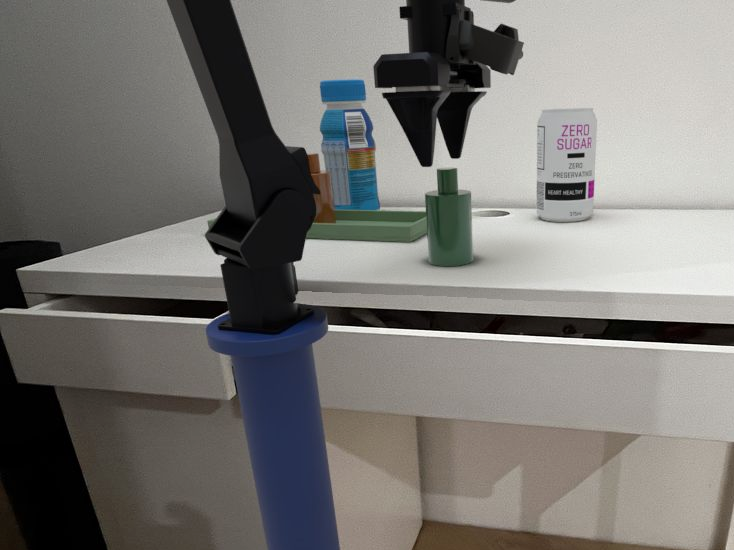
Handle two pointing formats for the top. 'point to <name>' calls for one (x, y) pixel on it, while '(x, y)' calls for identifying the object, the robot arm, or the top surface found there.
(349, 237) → the tray
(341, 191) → the beverage bottle
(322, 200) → the amber bottle near
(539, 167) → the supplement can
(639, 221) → the top surface
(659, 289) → the top surface
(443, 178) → the green bottle
